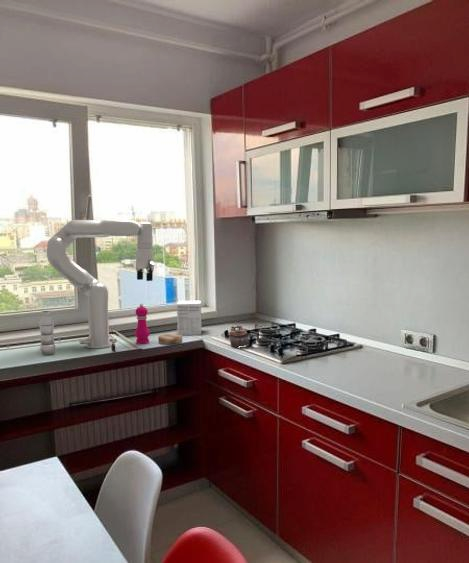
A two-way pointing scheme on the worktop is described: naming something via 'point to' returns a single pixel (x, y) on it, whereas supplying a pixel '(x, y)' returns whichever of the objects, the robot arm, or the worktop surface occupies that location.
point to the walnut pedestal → (170, 339)
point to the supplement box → (189, 317)
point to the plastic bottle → (47, 334)
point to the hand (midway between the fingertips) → (144, 280)
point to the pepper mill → (142, 325)
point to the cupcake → (238, 336)
